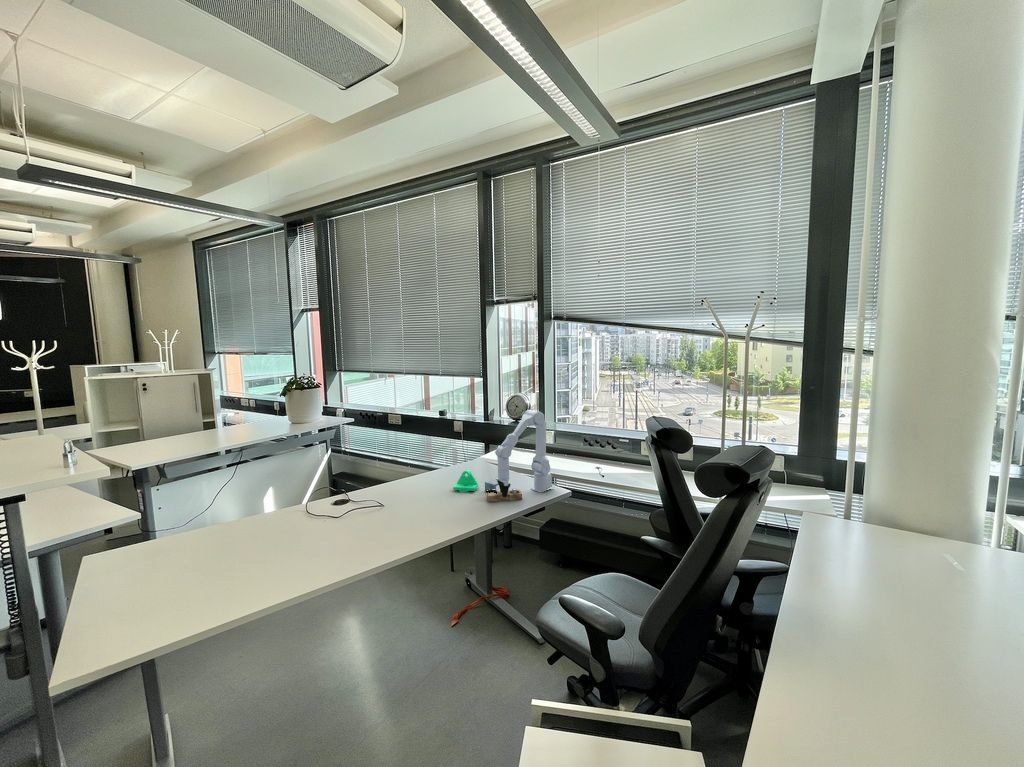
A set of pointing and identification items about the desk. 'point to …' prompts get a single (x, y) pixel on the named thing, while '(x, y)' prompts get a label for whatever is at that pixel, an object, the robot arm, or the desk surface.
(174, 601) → the desk surface
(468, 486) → the green triangular piece
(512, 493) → the pintle
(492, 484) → the keeper
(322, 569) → the desk surface
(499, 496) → the lever
